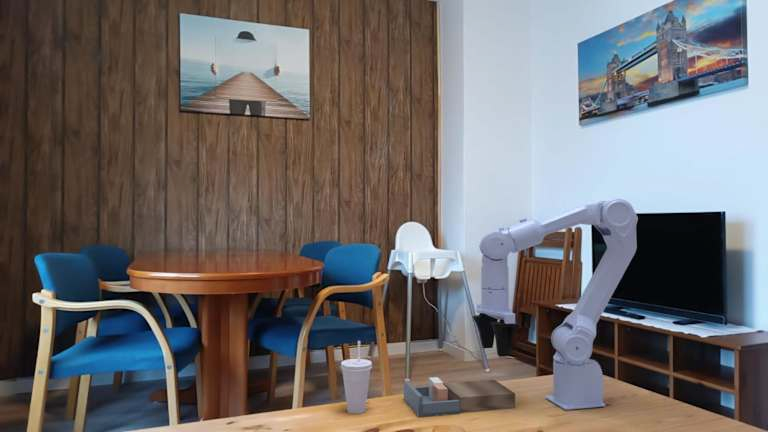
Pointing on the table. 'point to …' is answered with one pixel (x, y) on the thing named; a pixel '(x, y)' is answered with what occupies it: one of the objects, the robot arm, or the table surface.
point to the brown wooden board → (480, 395)
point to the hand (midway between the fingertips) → (495, 351)
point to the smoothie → (356, 382)
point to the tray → (428, 402)
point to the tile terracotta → (439, 392)
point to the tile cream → (431, 380)
